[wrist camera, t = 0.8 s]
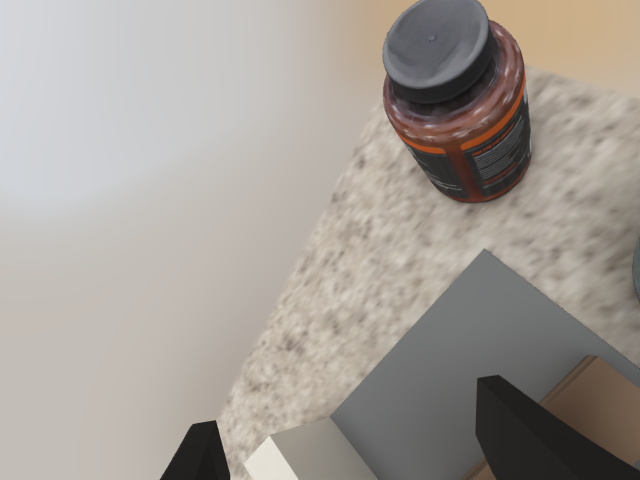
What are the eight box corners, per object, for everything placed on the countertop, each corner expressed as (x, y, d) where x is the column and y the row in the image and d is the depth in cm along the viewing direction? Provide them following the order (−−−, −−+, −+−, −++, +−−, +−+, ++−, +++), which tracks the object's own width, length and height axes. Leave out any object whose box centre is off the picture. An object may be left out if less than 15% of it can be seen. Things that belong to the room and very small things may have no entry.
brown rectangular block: (650, 405, 19) (680, 421, 15) (494, 550, 20) (479, 604, 16) (587, 355, 20) (598, 356, 16) (446, 494, 22) (421, 529, 17)
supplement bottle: (550, 123, 24) (553, -33, 14) (506, 219, 24) (478, 128, 14) (451, 103, 27) (397, -37, 17) (411, 188, 27) (334, 96, 17)
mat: (713, 425, 18) (715, 426, 18) (387, 718, 21) (386, 723, 21) (484, 249, 24) (484, 248, 24) (256, 498, 27) (253, 499, 27)
